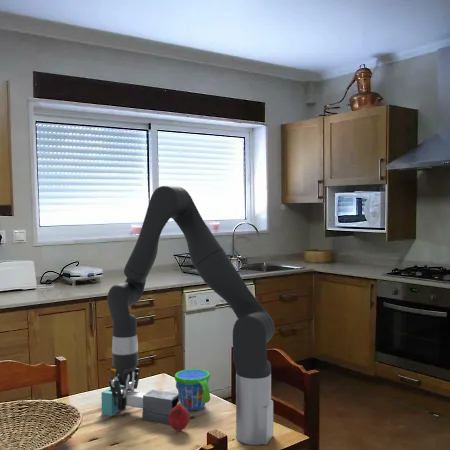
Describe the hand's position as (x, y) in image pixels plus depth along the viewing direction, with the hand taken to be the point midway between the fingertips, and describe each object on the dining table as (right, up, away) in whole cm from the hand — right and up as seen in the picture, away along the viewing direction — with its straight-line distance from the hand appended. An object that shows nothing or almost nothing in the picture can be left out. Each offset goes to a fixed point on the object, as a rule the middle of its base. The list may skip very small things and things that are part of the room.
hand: (125, 407), depth 150 cm
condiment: (-6, -2, +15) cm, 16 cm away
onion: (+17, -2, -13) cm, 21 cm away
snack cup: (+20, -2, +5) cm, 20 cm away
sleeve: (+11, -2, -4) cm, 12 cm away
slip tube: (+2, +1, -1) cm, 3 cm away
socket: (-4, -2, +2) cm, 5 cm away
